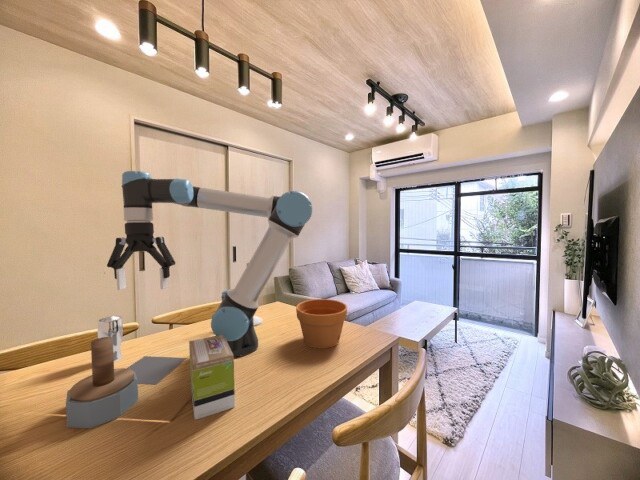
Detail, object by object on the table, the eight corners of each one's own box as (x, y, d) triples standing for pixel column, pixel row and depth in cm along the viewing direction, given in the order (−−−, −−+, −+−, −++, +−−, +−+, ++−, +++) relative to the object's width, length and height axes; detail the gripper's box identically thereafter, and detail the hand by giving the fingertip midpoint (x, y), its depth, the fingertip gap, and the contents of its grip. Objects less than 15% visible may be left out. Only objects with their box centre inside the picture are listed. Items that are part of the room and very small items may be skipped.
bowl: (149, 392, 76) (148, 371, 76) (106, 429, 62) (105, 404, 62) (103, 389, 77) (102, 369, 77) (51, 426, 63) (49, 401, 63)
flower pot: (332, 358, 96) (332, 317, 95) (285, 345, 106) (285, 308, 106) (354, 337, 114) (355, 303, 114) (313, 327, 125) (313, 296, 124)
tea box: (189, 388, 78) (188, 339, 77) (225, 379, 83) (224, 332, 82) (193, 422, 65) (192, 362, 64) (235, 408, 70) (235, 353, 69)
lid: (145, 372, 75) (144, 331, 75) (105, 403, 62) (103, 353, 62) (102, 370, 76) (101, 329, 76) (54, 400, 63) (51, 351, 63)
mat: (187, 359, 95) (187, 357, 95) (156, 385, 79) (156, 384, 79) (144, 357, 96) (144, 356, 96) (105, 383, 80) (105, 382, 80)
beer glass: (110, 366, 90) (108, 323, 89) (93, 364, 91) (91, 321, 90) (128, 356, 97) (127, 316, 96) (112, 354, 98) (111, 314, 97)
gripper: (184, 221, 87) (187, 285, 88) (109, 222, 87) (113, 286, 89) (171, 221, 80) (175, 290, 81) (89, 222, 80) (94, 292, 81)
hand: (143, 288), depth 85 cm, fingers open, 13 cm apart
